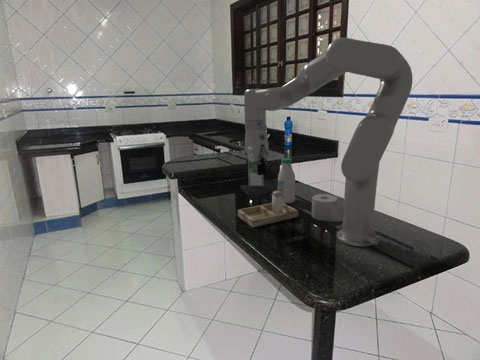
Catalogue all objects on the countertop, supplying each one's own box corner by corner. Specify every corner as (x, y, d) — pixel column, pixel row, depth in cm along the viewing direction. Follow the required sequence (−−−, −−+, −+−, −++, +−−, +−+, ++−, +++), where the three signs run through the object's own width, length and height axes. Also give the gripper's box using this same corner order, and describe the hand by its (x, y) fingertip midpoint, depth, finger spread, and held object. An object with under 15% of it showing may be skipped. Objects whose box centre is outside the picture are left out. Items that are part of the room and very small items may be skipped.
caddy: (298, 219, 127) (298, 210, 126) (253, 229, 119) (252, 220, 118) (279, 208, 139) (279, 201, 138) (237, 218, 130) (237, 209, 129)
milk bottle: (294, 199, 150) (295, 156, 144) (295, 205, 142) (296, 160, 137) (277, 199, 150) (277, 156, 145) (277, 205, 143) (277, 160, 138)
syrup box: (263, 182, 126) (263, 144, 122) (263, 186, 120) (263, 147, 116) (248, 182, 126) (248, 145, 122) (248, 186, 120) (247, 148, 116)
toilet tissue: (347, 224, 121) (348, 203, 119) (311, 222, 124) (311, 201, 122) (346, 215, 129) (347, 195, 127) (311, 213, 133) (312, 193, 130)
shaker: (285, 214, 130) (285, 192, 127) (275, 216, 128) (276, 194, 125) (279, 211, 133) (279, 189, 131) (270, 213, 132) (270, 191, 129)
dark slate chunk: (237, 189, 169) (236, 180, 168) (275, 184, 176) (275, 175, 174) (247, 198, 155) (247, 188, 154) (289, 192, 162) (289, 183, 161)
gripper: (277, 126, 111) (277, 175, 116) (253, 121, 126) (253, 166, 131) (258, 127, 108) (258, 178, 112) (235, 123, 123) (236, 168, 128)
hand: (256, 171), depth 122 cm, fingers closed on syrup box, 7 cm apart
